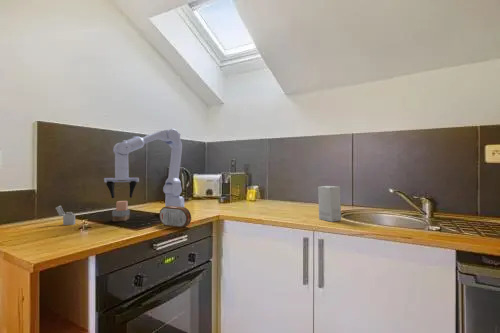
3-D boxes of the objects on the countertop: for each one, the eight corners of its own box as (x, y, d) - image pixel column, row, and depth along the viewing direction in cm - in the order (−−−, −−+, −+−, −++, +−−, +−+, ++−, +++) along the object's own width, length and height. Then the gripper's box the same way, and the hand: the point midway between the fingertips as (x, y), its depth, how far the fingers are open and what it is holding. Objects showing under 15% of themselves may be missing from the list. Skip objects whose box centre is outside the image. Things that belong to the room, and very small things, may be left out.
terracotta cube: (127, 209, 129) (127, 200, 129) (125, 210, 125) (125, 201, 125) (118, 209, 128) (118, 201, 128) (116, 210, 124) (116, 202, 124)
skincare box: (341, 220, 124) (341, 186, 124) (330, 222, 121) (330, 187, 120) (327, 217, 131) (327, 185, 131) (317, 219, 128) (317, 186, 128)
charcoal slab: (129, 214, 128) (129, 209, 128) (121, 216, 123) (121, 211, 123) (120, 214, 129) (120, 208, 129) (112, 216, 124) (112, 210, 124)
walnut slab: (129, 219, 129) (129, 214, 129) (125, 221, 124) (125, 216, 124) (117, 219, 129) (117, 214, 129) (112, 222, 123) (112, 216, 123)
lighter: (75, 223, 118) (75, 205, 118) (73, 224, 116) (73, 206, 116) (57, 224, 117) (57, 205, 117) (55, 225, 115) (55, 206, 115)
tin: (191, 227, 111) (191, 206, 111) (186, 229, 108) (186, 208, 108) (163, 224, 118) (163, 204, 118) (158, 225, 115) (158, 205, 115)
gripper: (139, 168, 132) (140, 196, 132) (107, 168, 128) (107, 197, 128) (137, 168, 125) (137, 197, 125) (102, 168, 121) (102, 198, 121)
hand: (122, 197), depth 126 cm, fingers open, 7 cm apart
